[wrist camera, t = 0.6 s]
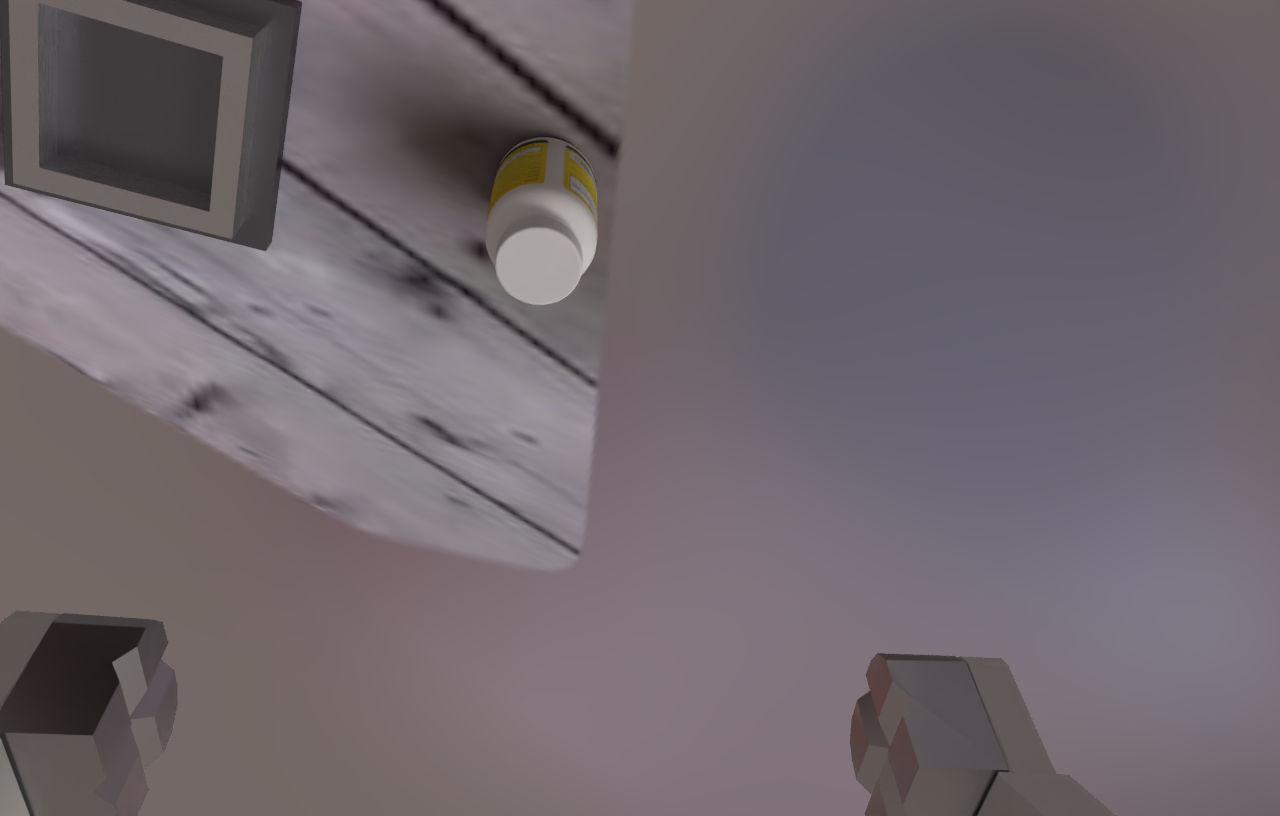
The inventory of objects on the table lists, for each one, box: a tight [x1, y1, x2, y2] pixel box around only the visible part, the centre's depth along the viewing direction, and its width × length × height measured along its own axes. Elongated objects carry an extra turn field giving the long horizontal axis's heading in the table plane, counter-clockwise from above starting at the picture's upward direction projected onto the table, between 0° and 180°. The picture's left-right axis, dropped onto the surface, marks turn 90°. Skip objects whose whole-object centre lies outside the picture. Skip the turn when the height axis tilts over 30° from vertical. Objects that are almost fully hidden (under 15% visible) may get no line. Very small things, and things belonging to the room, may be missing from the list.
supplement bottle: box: [485, 137, 597, 305], centre depth 50 cm, size 5×5×10 cm
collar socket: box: [0, 0, 302, 251], centre depth 49 cm, size 13×13×3 cm
